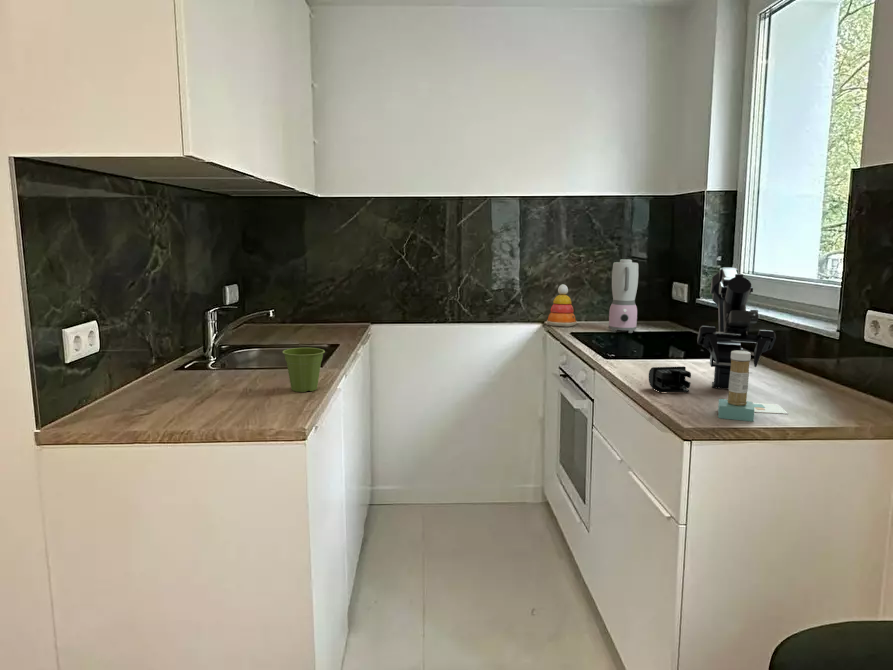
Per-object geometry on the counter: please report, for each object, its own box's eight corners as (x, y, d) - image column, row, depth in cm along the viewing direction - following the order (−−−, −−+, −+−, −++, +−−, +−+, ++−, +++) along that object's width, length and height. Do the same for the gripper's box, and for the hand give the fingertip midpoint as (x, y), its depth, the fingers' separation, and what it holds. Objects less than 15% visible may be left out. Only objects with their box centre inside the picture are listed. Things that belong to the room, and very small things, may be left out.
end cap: (678, 386, 202) (680, 364, 201) (691, 392, 195) (692, 369, 194) (647, 387, 200) (648, 365, 199) (658, 393, 193) (660, 370, 192)
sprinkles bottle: (738, 401, 174) (742, 349, 172) (750, 405, 169) (755, 352, 167) (723, 402, 172) (727, 350, 170) (735, 406, 168) (739, 353, 166)
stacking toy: (573, 328, 312) (575, 286, 309) (543, 326, 317) (544, 285, 314) (579, 324, 325) (580, 283, 322) (549, 322, 330) (551, 282, 327)
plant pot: (325, 394, 190) (324, 354, 188) (282, 395, 188) (280, 355, 186) (326, 384, 201) (325, 346, 199) (285, 385, 199) (283, 347, 197)
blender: (607, 328, 313) (610, 258, 308) (634, 329, 311) (638, 259, 306) (609, 333, 297) (613, 260, 292) (638, 334, 295) (642, 261, 290)
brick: (717, 409, 176) (718, 398, 176) (751, 413, 174) (752, 401, 173) (718, 418, 169) (719, 406, 169) (753, 421, 166) (754, 409, 166)
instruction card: (730, 402, 184) (730, 401, 184) (777, 405, 182) (777, 403, 182) (738, 411, 175) (738, 410, 175) (788, 414, 173) (788, 413, 173)
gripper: (703, 296, 181) (703, 344, 172) (779, 300, 176) (783, 350, 168) (697, 320, 190) (697, 367, 181) (769, 325, 185) (772, 373, 177)
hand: (736, 364), depth 177 cm, fingers open, 9 cm apart
